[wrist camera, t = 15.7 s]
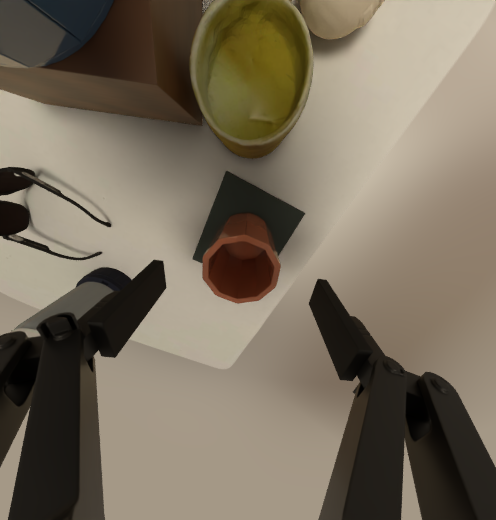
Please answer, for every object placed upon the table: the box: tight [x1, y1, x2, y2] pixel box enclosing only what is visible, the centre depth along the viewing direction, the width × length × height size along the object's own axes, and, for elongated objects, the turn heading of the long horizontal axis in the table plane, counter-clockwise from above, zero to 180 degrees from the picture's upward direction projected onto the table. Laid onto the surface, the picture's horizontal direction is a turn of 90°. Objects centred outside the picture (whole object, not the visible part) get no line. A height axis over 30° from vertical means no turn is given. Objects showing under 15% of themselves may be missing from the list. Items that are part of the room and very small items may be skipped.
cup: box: [203, 213, 281, 303], centre depth 22 cm, size 8×8×10 cm
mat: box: [193, 171, 305, 263], centre depth 27 cm, size 14×12×1 cm
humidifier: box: [11, 268, 131, 338], centre depth 20 cm, size 8×8×25 cm
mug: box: [189, 0, 313, 159], centre depth 16 cm, size 12×10×10 cm
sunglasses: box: [0, 167, 111, 260], centre depth 24 cm, size 10×12×5 cm
